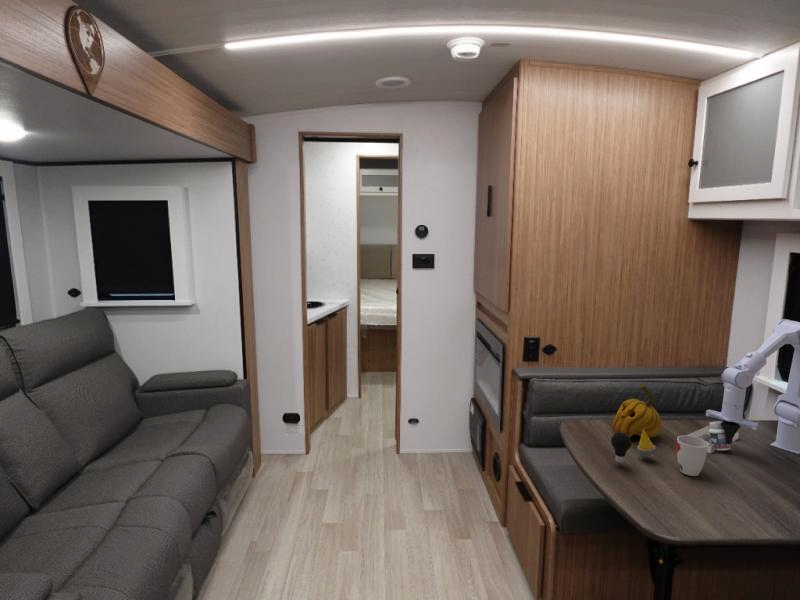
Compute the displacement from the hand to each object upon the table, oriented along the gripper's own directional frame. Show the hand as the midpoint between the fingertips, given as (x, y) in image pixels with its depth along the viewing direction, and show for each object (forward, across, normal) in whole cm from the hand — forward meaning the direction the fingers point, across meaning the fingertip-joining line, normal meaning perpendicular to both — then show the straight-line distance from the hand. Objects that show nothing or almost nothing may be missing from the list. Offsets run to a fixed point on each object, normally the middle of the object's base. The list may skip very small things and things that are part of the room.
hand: (728, 443), depth 159 cm
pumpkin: (+5, -27, -18) cm, 32 cm away
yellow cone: (+5, -13, -26) cm, 29 cm away
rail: (+3, -7, +5) cm, 10 cm away
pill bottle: (+3, -2, +1) cm, 3 cm away
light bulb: (+5, -16, -36) cm, 40 cm away
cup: (+5, -1, -24) cm, 24 cm away
